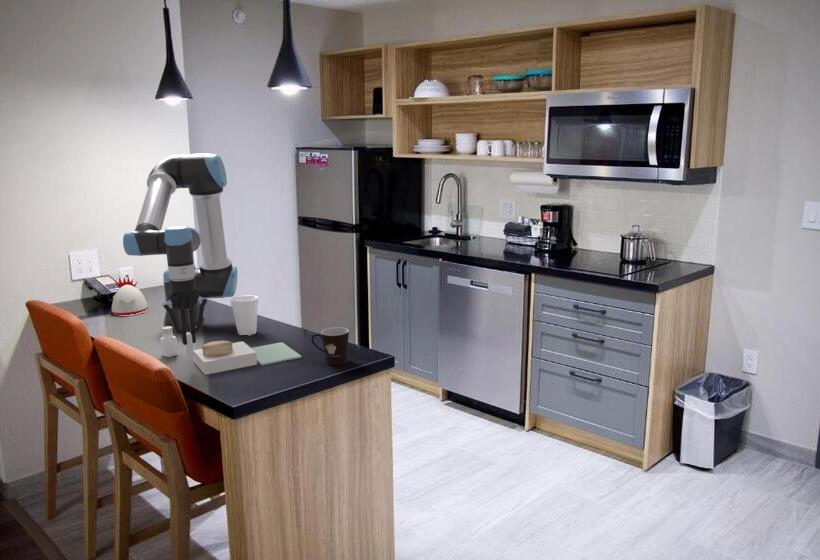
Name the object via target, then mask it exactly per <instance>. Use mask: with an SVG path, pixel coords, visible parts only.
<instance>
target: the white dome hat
mask: <svg viewBox="0 0 820 560" xmlns="http://www.w3.org/2000/svg"><path fill="white" fill-rule="evenodd" d="M137 283H138V281H135V283H134V278H132V279H131V281H130V277H129V276H127V279H126V277H123V282H122V280H121V278H120V277H119V278H118V281H116V280H115V284H116V285H117V287H118V289H117V291H116V292H115V294H114V295H113V296H112V304H111V314H112V313H113V314H116V315H130V314H136V313H139V312H142V311H145V310H146V309H148V310H149V305H148V303H147V300H146V298H145V296H144V294H143V292H142V291H141V290H140V289H139V288H138V287H136V286H137Z"/></svg>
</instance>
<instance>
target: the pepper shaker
mask: <svg viewBox="0 0 820 560" xmlns="http://www.w3.org/2000/svg"><path fill="white" fill-rule="evenodd" d="M161 331H162V332H161V333H162V337H161V338H160V349H161V356H163V357H166V358H171V357H175V356H177V355H179V349H178V342H177V341H178V340H177V337H176V336H175V335H173V334H174V332H173V330H172V327H171V326H167V327H164V326H162V328H161Z"/></svg>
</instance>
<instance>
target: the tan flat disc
mask: <svg viewBox="0 0 820 560" xmlns="http://www.w3.org/2000/svg"><path fill="white" fill-rule="evenodd" d="M232 343H233V342H231V341H230V340H216V341H215V340H213V341H210V342H207V343H205V344H203V345H202V347H201V349H202V350H203V355H204V356H207V357H220V356H225V355H228V354H230V353H232V352H233V348H232Z"/></svg>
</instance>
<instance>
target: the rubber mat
mask: <svg viewBox="0 0 820 560" xmlns="http://www.w3.org/2000/svg"><path fill="white" fill-rule="evenodd" d="M250 348H251V349H253V350H254V351H255V352H256V357H257V363H259V364H260V366H262V367H263V366H268V365H272V364H273V365H274V364H278V363H283V362H287V360H288V361H292V360H298V359H302V355H301V354H300V353H298V352H296V350H294V349H292V348H291V347H289V346H288V345H287V344H285V343H284V342H276V343H270V344H265V345H259V346H253V347H250ZM282 361H283V362H282ZM277 362H278V363H277Z"/></svg>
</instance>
